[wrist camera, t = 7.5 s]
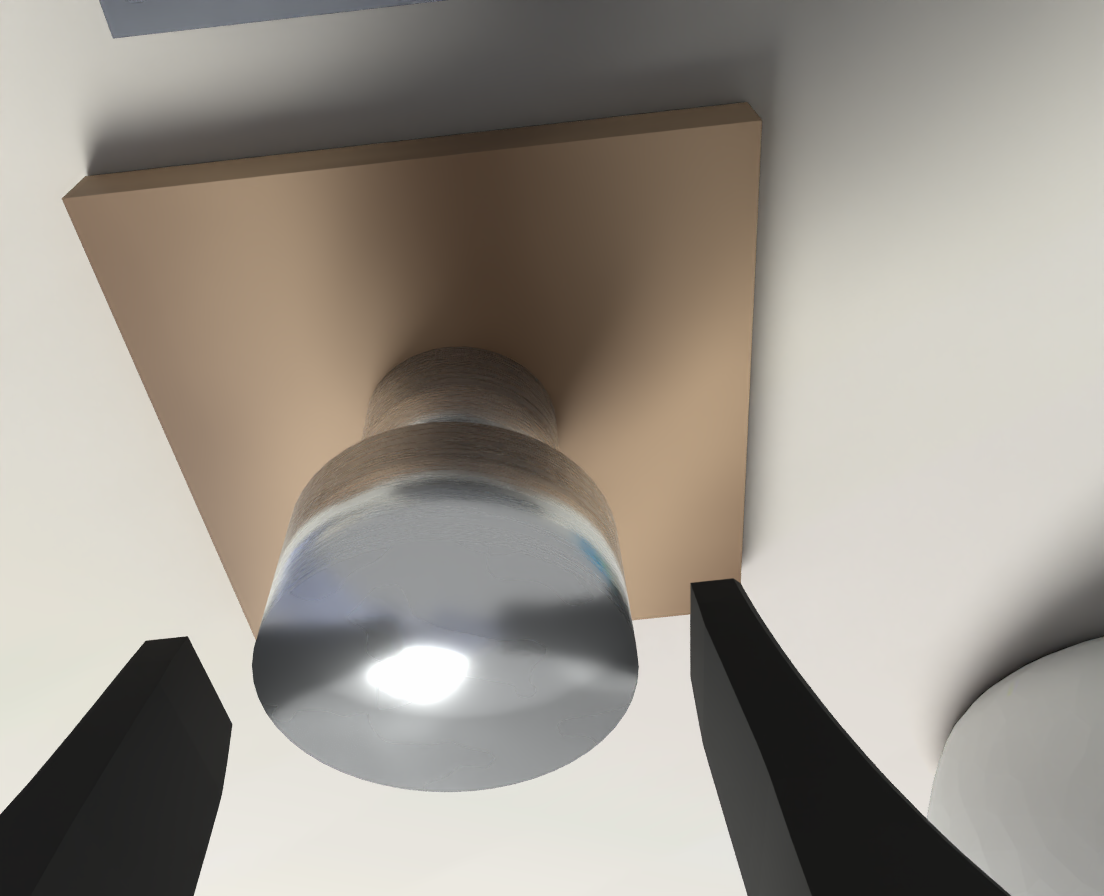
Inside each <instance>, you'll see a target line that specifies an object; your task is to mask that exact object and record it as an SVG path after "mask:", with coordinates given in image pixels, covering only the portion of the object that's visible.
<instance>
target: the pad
mask: <svg viewBox="0 0 1104 896" xmlns="http://www.w3.org/2000/svg"><path fill="white" fill-rule="evenodd" d="M761 131H762V120H761V118H760V117H759V116H758V115H757V113H756V112H755V111H754V110H753V108H752V107H751V106H750V105H749V104H748V102H743V103H734V104H726V105H717V106H708V107H699V108H690V109H681V110H672V111H663V112H654V113H645V114H636V115H628V116H619V117H610V118H601V119H592V120H583V121H574V122H565V123H556V124H547V125H538V126H530V127H521V128H512V129H503V130H494V131H485V132H476V133H467V134H458V135H449V136H440V137H431V138H423V139H414V140H405V141H396V142H387V143H378V144H369V145H360V146H351V147H342V148H333V149H325V150H316V151H307V152H298V153H289V154H280V155H271V156H262V157H253V158H244V159H235V160H227V161H218V162H209V163H200V164H191V165H182V166H173V167H164V168H155V169H146V170H137V171H128V172H120V173H111V174H102V175H93V176H85V177H84V178H83V179H82V180H81V181H80V182H79V183H78V184H77V185H76V186H75V187H74V188H73V189H72V190H70V191H69V192H68V193H67V194H66V195H65V196H64V197H63V198H62V200H63V202H64V205H65V207H66V209H67V212H68V214H69V216H70V218H71V221H72V223H73V225H74V227H75V230H76V232H77V234H78V237H79V239H80V241H81V243H82V246H83V248H84V250H85V253H86V255H87V257H88V259H89V262H90V264H91V266H92V268H93V271H94V273H95V275H96V278H97V280H98V282H99V284H100V287H101V289H102V291H103V293H104V296H105V298H106V300H107V303H108V305H109V307H110V309H111V312H112V314H113V316H114V319H115V321H116V323H117V325H118V328H119V330H120V332H121V334H122V337H123V339H124V341H125V344H126V346H127V348H128V350H129V353H130V355H131V357H132V359H133V362H134V364H135V366H136V369H137V371H138V373H139V375H140V378H141V380H142V382H143V384H144V387H145V389H146V391H147V394H148V396H149V398H150V400H151V403H152V405H153V407H154V410H155V412H156V414H157V416H158V419H159V421H160V423H161V425H162V428H163V430H164V432H165V435H166V437H167V439H168V441H169V444H170V446H171V448H172V450H173V453H174V455H175V457H176V460H177V462H178V464H179V466H180V469H181V471H182V473H183V476H184V478H185V480H186V482H187V485H188V487H189V489H190V491H191V494H192V496H193V498H194V501H195V503H196V505H197V507H198V510H199V512H200V514H201V516H202V519H203V521H204V523H205V526H206V528H207V530H208V532H209V535H210V537H211V539H212V542H213V544H214V546H215V548H216V551H217V553H218V555H219V557H220V560H221V562H222V564H223V567H224V569H225V571H226V573H227V576H228V578H229V580H230V582H231V585H232V587H233V589H234V592H235V594H236V596H237V598H238V601H239V603H240V605H241V608H242V610H243V612H244V614H245V617H246V619H247V621H248V623H249V626H250V628H251V630H252V633H253V635H254V637H255V639H257V636H258V632H259V628H260V625H261V621H262V618H263V614H264V611H265V607H266V604H267V600H268V596H269V593H270V589H271V586H272V582H273V579H274V575H275V572H276V568H277V564H278V561H279V557H280V554H281V550H282V547H283V543H284V540H285V536H286V533H287V529H288V525H289V522H290V519H291V516H292V512H293V509H294V506H295V504H296V502H297V500H298V498H299V496H300V494H301V492H302V491H303V489H304V488H305V486H306V485H307V484H308V482H309V481H310V480H311V478H312V477H313V476H314V475H315V474H316V473H317V472H318V471H319V470H320V469H321V468H322V467H323V466H324V465H325V464H326V463H327V462H328V461H329V460H331V459H332V458H334V457H335V456H337V455H338V454H339V453H341V452H342V451H344V450H345V449H347V448H349V447H350V446H352V445H354V444H356V443H358V442H360V441H361V439H362V434H363V429H364V424H365V420H366V415H367V410H368V405H369V403H370V400H371V397H372V395H373V393H374V391H375V389H376V387H377V386H378V384H379V383H380V382H381V381H382V379H383V378H384V377H385V376H386V375H387V374H388V373H389V372H390V371H391V370H392V369H393V368H395V367H396V366H398V365H399V364H400V363H402V362H403V361H405V360H407V359H409V358H411V357H413V356H415V355H418V354H420V353H423V352H426V351H430V350H433V349H438V348H445V347H473V348H480V349H484V350H489V351H492V352H495V353H498V354H501V355H503V356H506V357H508V358H510V359H512V360H514V361H515V362H517V363H519V364H520V365H522V366H523V367H525V368H526V369H527V370H528V371H529V372H531V373H532V374H533V375H534V376H535V377H536V378H537V379H538V381H539V382H540V383H541V384H542V386H543V387H544V388H545V390H546V391H547V393H548V395H549V397H550V399H551V401H552V405H553V408H554V411H555V417H556V425H557V435H558V446H559V452H561V453H563V454H564V455H566V456H567V457H568V458H569V459H571V460H572V461H573V462H575V463H576V464H577V465H578V466H580V467H581V468H582V469H583V470H584V471H585V472H586V473H587V474H588V475H589V476H590V477H591V479H592V480H593V481H594V482H595V483H596V485H597V486H598V488H599V489H600V490H601V492H602V493H603V495H604V496H605V498H606V500H607V502H608V504H609V506H610V508H611V510H612V513H613V517H614V520H615V523H616V527H617V533H618V539H619V545H620V551H621V557H622V563H623V569H624V575H625V582H626V588H627V594H628V600H629V606H630V612H631V618H632V620H639V619H649V618H659V617H668V616H678V615H688V614H690V583H693V582H703V581H712V580H721V579H731V578H734V579H735V580H737V581H738V582H739V583H741V563H742V542H743V520H744V498H745V477H746V455H747V434H748V412H749V391H750V369H751V347H752V326H753V304H754V283H755V261H756V239H757V218H758V196H759V175H760V153H761Z"/></svg>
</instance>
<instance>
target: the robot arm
mask: <svg viewBox="0 0 1104 896" xmlns="http://www.w3.org/2000/svg"><path fill="white" fill-rule="evenodd" d="M690 664H691V682H692V687H693V693H694V698H695V704H696V709H697V715H698V720H699V725H700V731H701V736H702V741H703V746H704V749H705V753H706V756H707V760H708V763H709V766H710V770H711V773H712V777H713V780H714V783H715V787H716V790H717V794H718V797H719V801H720V804H721V807H722V811H723V814H724V817H725V821H726V824H727V828H728V831H729V834H730V838H731V841H732V844H733V848H734V851H735V855H736V858H737V861H738V865H739V868H740V871H741V875H742V878H743V882H744V885H745V888H746V892H747V895H748V896H1011V895H1010V894H1009V893H1008V892H1007V891H1005V890H1004V889H1003V888H1002V887H1001V886H1000V885H999V884H997V883H996V882H995V881H994V880H993V879H992V878H991V877H989V876H988V875H987V874H986V873H985V872H984V871H983V870H981V869H980V868H979V867H978V866H977V865H976V864H975V863H973V862H972V861H971V860H970V859H969V858H968V857H967V856H965V855H964V854H963V853H962V852H961V851H960V850H959V849H958V848H957V847H956V846H955V845H953V844H952V843H951V842H950V841H949V840H948V839H947V838H946V837H945V836H944V835H943V834H942V833H941V832H940V831H939V830H938V829H937V828H936V827H935V826H934V825H933V824H932V823H931V822H930V821H929V820H928V819H926V818H925V817H924V816H923V815H922V814H921V813H920V812H919V811H918V810H917V809H916V808H915V806H914V805H913V804H912V803H911V802H910V801H909V800H908V799H907V798H906V797H905V796H904V795H903V794H902V793H901V792H900V791H899V790H898V789H897V788H896V787H895V786H894V785H893V784H892V783H891V782H890V781H889V780H888V779H887V777H886V776H885V775H884V774H883V773H882V772H881V771H880V770H879V769H878V768H877V767H876V765H875V764H874V763H873V762H872V761H871V760H870V759H869V758H868V757H867V756H866V754H865V753H864V752H863V751H862V750H861V749H860V747H859V746H858V745H857V744H856V743H855V742H854V740H853V739H852V738H851V737H850V736H849V735H848V733H847V732H846V731H845V730H844V729H843V728H842V726H841V725H840V724H839V723H838V722H837V720H836V719H835V718H834V717H833V715H832V714H831V713H830V712H829V711H828V709H827V708H826V707H825V706H824V704H823V703H822V702H821V700H820V699H819V698H818V697H817V695H816V694H815V693H814V691H813V690H812V689H811V687H810V686H809V685H808V684H807V682H806V681H805V680H804V678H803V677H802V676H801V674H800V673H799V672H798V671H797V669H796V668H795V666H794V665H793V664H792V662H791V661H790V660H789V658H788V657H787V655H786V654H785V653H784V651H783V650H782V648H781V647H780V645H779V644H778V642H777V641H776V640H775V638H774V637H773V635H772V634H771V632H770V631H769V629H768V628H767V626H766V625H765V623H764V622H763V620H762V619H761V617H760V615H759V614H758V612H757V611H756V609H755V607H754V606H753V604H752V602H751V601H750V599H749V597H748V596H747V594H746V592H745V590H744V589H743V587H742V585H741V583H739V582H738V581H737V580H735V579H734V578H731V579H721V580H712V581H703V582H693V583H690ZM231 730H232V723H231V721H230V719H229V717H228V715H227V713H226V711H225V709H224V707H223V705H222V703H221V701H220V699H219V697H218V695H217V693H216V691H215V689H214V687H213V685H212V683H211V681H210V679H209V677H208V675H207V673H206V671H205V669H204V668H203V666H202V664H201V662H200V660H199V658H198V656H197V654H196V652H195V650H194V648H193V646H192V644H191V642H190V640H189V638H188V636H186V637H177V638H168V639H158V640H149V641H145V642H144V644H143V645H142V646H141V647H140V648H139V650H138V651H137V652H136V653H135V654H134V656H133V657H132V658H131V659H130V660H129V662H128V663H127V664H126V665H125V666H124V668H123V669H122V670H121V671H120V673H119V674H118V675H117V676H116V678H115V679H114V680H113V681H112V682H111V684H110V685H109V686H108V687H107V689H106V690H105V691H104V692H103V694H102V695H101V696H100V697H99V699H98V700H97V701H96V702H95V704H94V705H93V706H92V707H91V709H90V710H89V711H88V712H87V713H86V715H85V716H84V717H83V718H82V720H81V721H80V722H79V723H78V725H77V726H76V727H75V728H74V729H73V731H72V732H71V733H70V734H69V735H68V737H67V738H66V739H65V740H64V741H63V743H62V744H61V745H60V746H59V747H58V749H57V750H56V751H55V752H54V753H53V755H52V756H51V757H50V758H49V759H48V761H47V762H46V763H45V764H44V765H43V767H42V768H41V769H40V770H39V771H38V773H37V774H36V775H35V776H34V777H33V778H32V780H31V781H30V782H29V783H28V784H27V785H26V786H25V788H24V789H23V790H22V791H21V792H20V793H19V794H18V795H17V796H16V798H15V799H14V800H13V801H12V802H11V803H10V804H9V805H8V806H7V808H6V809H5V810H4V811H3V812H2V813H1V814H0V896H194V892H195V889H196V885H197V882H198V878H199V875H200V871H201V868H202V864H203V861H204V858H205V854H206V851H207V847H208V843H209V840H210V836H211V833H212V829H213V825H214V822H215V818H216V815H217V811H218V807H219V803H220V800H221V796H222V791H223V785H224V779H225V773H226V766H227V760H228V753H229V745H230V738H231Z"/></svg>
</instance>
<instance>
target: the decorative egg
mask: <svg viewBox="0 0 1104 896" xmlns="http://www.w3.org/2000/svg"><path fill="white" fill-rule="evenodd" d="M927 819H928V820H929V821H930V822H931V823H932V824H933V825H934V826H935V827H936V828H937V829H938V830H939V831H940V832H941V833H942V834H943V835H944V836H945V837H946V838H947V839H948V840H949V841H950V842H951V843H952V844H953V845H955V846H956V847H957V848H958V849H959V850H960V851H961V852H962V853H963V854H964V855H965V856H967V857H968V858H969V859H970V860H971V861H972V862H973V863H975V864H976V865H977V866H978V867H979V868H980V869H981V870H983V871H984V872H985V873H986V874H987V875H988V876H989V877H991V878H992V879H993V880H994V881H995V882H996V883H997V884H999V885H1000V886H1001V887H1002V888H1003V889H1004V890H1005V891H1007V892H1008V893H1009V894H1010V895H1011V896H1104V637H1100V638H1096V639H1092V640H1088V641H1084V642H1082V643H1079V644H1076V645H1074V646H1071V647H1068V648H1065V649H1063V650H1060V651H1058V652H1055V653H1052V654H1049V655H1047V656H1045V657H1042V658H1040V659H1038V660H1036V661H1034V662H1032V663H1030V664H1027V665H1025V666H1023V667H1022V668H1020V669H1018V670H1017V671H1015V672H1014V673H1012V674H1010V675H1009V676H1007V677H1006V678H1004V679H1003V680H1001V681H999V682H998V683H996V684H995V685H993V686H992V687H990V688H989V689H988V690H987V691H986V692H984V693H983V694H982V695H981V696H980V697H979V698H978V699H977V700H976V701H975V702H974V703H973V704H972V705H971V707H970V708H969V709H968V710H967V711H966V713H965V714H964V715H963V716H962V717H961V719H960V720H959V721H958V722H957V723H956V725H955V726H954V728H953V730H952V732H951V734H950V735H949V737H948V739H947V741H946V744H945V747H944V749H943V752H942V755H941V757H940V760H939V763H938V767H937V770H936V774H935V777H934V781H933V785H932V791H931V796H930V802H929V807H928V815H927Z"/></svg>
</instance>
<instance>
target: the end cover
mask: <svg viewBox="0 0 1104 896" xmlns="http://www.w3.org/2000/svg"><path fill="white" fill-rule="evenodd" d="M638 668H639V666H638V657H637V649H636V642H635V636H634V630H633V624H632V618H631V612H630V606H629V600H628V594H627V588H626V582H625V575H624V569H623V563H622V557H621V551H620V545H619V539H618V533H617V527H616V523H615V520H614V517H613V513H612V510H611V508H610V506H609V504H608V502H607V500H606V498H605V496H604V495H603V493H602V492H601V490H600V489H599V488H598V486H597V485H596V483H595V482H594V481H593V480H592V479H591V477H590V476H589V475H588V474H587V473H586V472H585V471H584V470H583V469H582V468H581V467H580V466H578V465H577V464H576V463H575V462H573V461H572V460H571V459H569V458H568V457H567V456H566V455H564V454H563V453H561V452H559V446H558V435H557V425H556V417H555V411H554V408H553V405H552V401H551V399H550V397H549V395H548V393H547V391H546V390H545V388H544V387H543V386H542V384H541V383H540V382H539V381H538V379H537V378H536V377H535V376H534V375H533V374H532V373H531V372H529V371H528V370H527V369H526V368H525V367H523V366H522V365H520V364H519V363H517V362H515V361H514V360H512V359H510V358H508V357H506V356H503V355H501V354H498V353H495V352H492V351H489V350H484V349H480V348H473V347H445V348H438V349H433V350H430V351H426V352H423V353H420V354H418V355H415V356H413V357H411V358H409V359H407V360H405V361H403V362H402V363H400V364H399V365H398V366H396V367H395V368H393V369H392V370H391V371H390V372H389V373H388V374H387V375H386V376H385V377H384V378H383V379H382V381H381V382H380V383H379V384H378V386H377V387H376V389H375V391H374V393H373V395H372V397H371V400H370V403H369V405H368V410H367V415H366V420H365V424H364V429H363V434H362V439H361V441H360V442H358V443H356V444H354V445H352V446H350V447H349V448H347V449H345V450H344V451H342V452H341V453H339V454H338V455H337V456H335V457H334V458H332V459H331V460H329V461H328V462H327V463H326V464H325V465H324V466H323V467H322V468H321V469H320V470H319V471H318V472H317V473H316V474H315V475H314V476H313V477H312V478H311V480H310V481H309V482H308V484H307V485H306V486H305V488H304V489H303V491H302V492H301V494H300V496H299V498H298V500H297V502H296V504H295V506H294V509H293V512H292V516H291V519H290V522H289V525H288V529H287V533H286V536H285V540H284V543H283V547H282V550H281V554H280V557H279V561H278V564H277V568H276V572H275V575H274V579H273V582H272V586H271V589H270V593H269V596H268V600H267V604H266V607H265V611H264V614H263V618H262V621H261V625H260V628H259V632H258V636H257V639H256V643H255V646H254V652H253V661H252V670H253V680H254V685H255V688H256V691H257V695H258V698H259V700H260V702H261V704H262V706H263V708H264V710H265V711H266V713H267V715H268V716H269V717H270V719H271V720H272V721H273V723H274V724H275V725H276V727H277V728H278V729H279V730H280V731H281V732H282V733H283V734H284V735H285V736H286V737H287V738H288V739H289V740H290V741H291V742H293V743H294V744H295V745H296V746H298V747H299V748H300V749H302V750H303V751H304V752H305V753H307V754H309V755H310V756H312V757H314V758H315V759H317V760H319V761H320V762H322V763H324V764H326V765H328V766H330V767H332V768H334V769H336V770H339V771H341V772H343V773H346V774H349V775H351V776H354V777H357V778H359V779H362V780H366V781H370V782H374V783H377V784H381V785H386V786H391V787H396V788H402V789H409V790H418V791H431V792H461V791H476V790H484V789H492V788H497V787H502V786H507V785H512V784H516V783H520V782H523V781H527V780H530V779H534V778H537V777H539V776H542V775H545V774H547V773H550V772H552V771H555V770H557V769H559V768H561V767H563V766H565V765H567V764H569V763H571V762H573V761H574V760H576V759H577V758H579V757H581V756H582V755H584V754H585V753H587V752H589V751H590V750H591V749H592V748H594V747H595V746H596V745H597V744H599V743H600V742H601V741H602V740H603V739H604V738H605V737H606V736H607V735H608V734H609V733H610V732H611V731H612V730H613V729H614V728H615V727H616V725H617V724H618V723H619V721H620V720H621V719H622V717H623V716H624V714H625V713H626V711H627V709H628V707H629V705H630V703H631V701H632V699H633V695H634V692H635V689H636V685H637V679H638Z"/></svg>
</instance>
